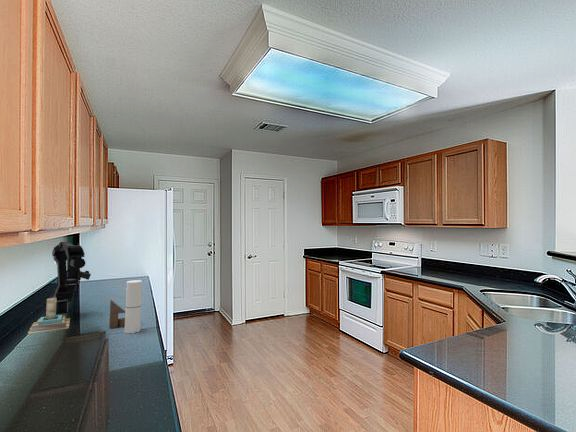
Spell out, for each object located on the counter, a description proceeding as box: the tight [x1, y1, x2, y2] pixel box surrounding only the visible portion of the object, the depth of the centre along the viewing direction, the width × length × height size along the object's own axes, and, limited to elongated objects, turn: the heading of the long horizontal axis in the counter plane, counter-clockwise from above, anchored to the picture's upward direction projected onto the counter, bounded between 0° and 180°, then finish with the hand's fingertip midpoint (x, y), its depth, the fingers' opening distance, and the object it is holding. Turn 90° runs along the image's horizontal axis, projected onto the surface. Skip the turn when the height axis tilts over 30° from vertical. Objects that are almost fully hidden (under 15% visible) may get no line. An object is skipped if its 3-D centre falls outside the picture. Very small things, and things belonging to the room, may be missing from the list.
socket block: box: [38, 314, 63, 325], centre depth 159 cm, size 9×9×4 cm
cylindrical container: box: [124, 279, 143, 334], centre depth 156 cm, size 7×7×25 cm
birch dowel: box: [45, 297, 57, 320], centre depth 159 cm, size 4×4×13 cm
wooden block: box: [108, 299, 126, 329], centre depth 164 cm, size 4×11×18 cm, turn 126°
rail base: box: [27, 315, 71, 335], centre depth 160 cm, size 20×16×3 cm
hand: (72, 295), depth 175 cm, fingers open, 9 cm apart
